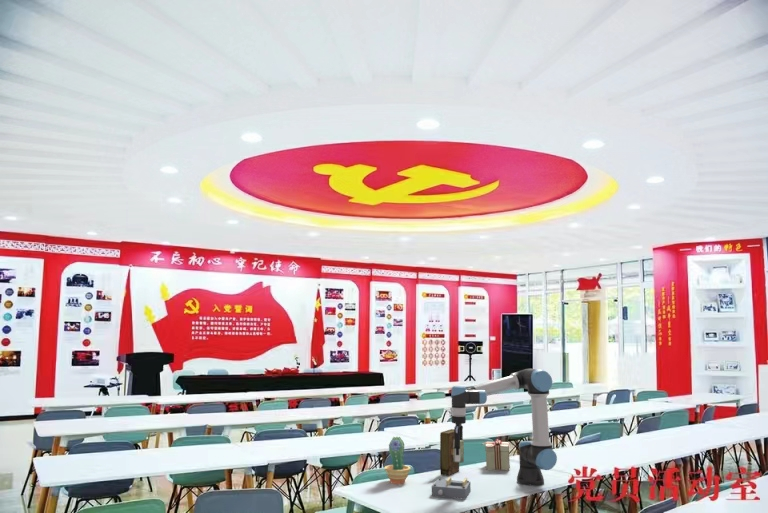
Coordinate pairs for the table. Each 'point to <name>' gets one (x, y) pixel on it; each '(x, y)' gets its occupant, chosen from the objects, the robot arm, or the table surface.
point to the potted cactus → (397, 462)
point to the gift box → (497, 455)
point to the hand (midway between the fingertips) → (458, 460)
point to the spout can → (460, 452)
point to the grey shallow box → (451, 488)
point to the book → (447, 453)
